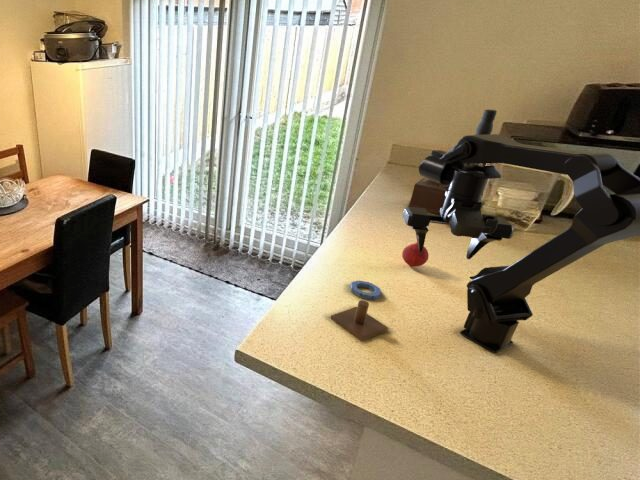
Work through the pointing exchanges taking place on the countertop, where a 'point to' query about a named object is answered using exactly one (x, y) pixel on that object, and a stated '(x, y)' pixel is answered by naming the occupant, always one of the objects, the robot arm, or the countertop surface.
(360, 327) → the dowel stand
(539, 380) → the countertop surface
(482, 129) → the whiskey bottle
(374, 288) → the ring
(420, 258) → the onion
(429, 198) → the brown box
